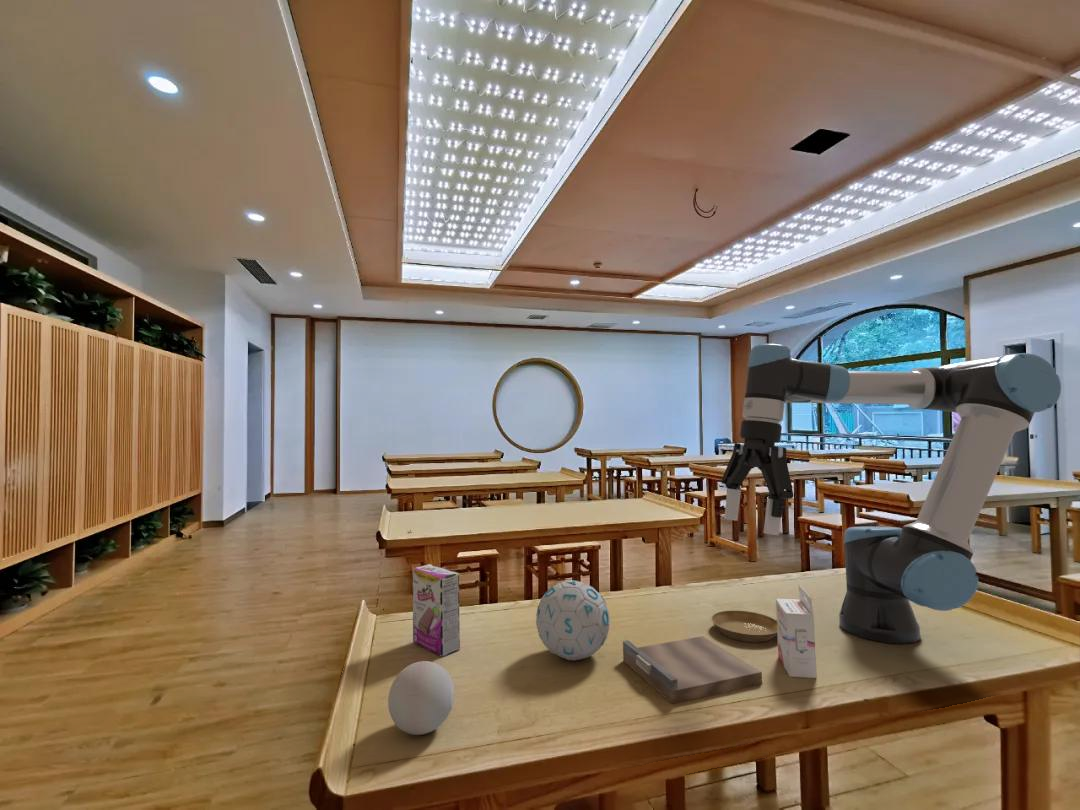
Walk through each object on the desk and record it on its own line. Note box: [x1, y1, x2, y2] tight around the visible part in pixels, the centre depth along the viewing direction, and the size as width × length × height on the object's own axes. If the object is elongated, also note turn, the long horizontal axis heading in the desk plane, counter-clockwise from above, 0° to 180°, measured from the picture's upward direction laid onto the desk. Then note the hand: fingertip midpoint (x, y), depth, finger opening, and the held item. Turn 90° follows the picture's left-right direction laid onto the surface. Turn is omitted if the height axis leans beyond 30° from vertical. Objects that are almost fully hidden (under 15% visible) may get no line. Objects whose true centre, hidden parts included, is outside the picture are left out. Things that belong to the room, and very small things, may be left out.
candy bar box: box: [411, 563, 461, 657], centre depth 110 cm, size 11×5×16 cm, turn 47°
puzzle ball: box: [535, 579, 610, 661], centre depth 104 cm, size 15×15×15 cm
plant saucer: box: [711, 609, 778, 643], centre depth 114 cm, size 15×15×3 cm
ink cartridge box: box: [775, 584, 818, 679], centre depth 97 cm, size 9×5×15 cm, turn 168°
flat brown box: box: [622, 635, 763, 704], centre depth 96 cm, size 20×17×4 cm
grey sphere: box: [387, 660, 455, 736], centre depth 79 cm, size 10×10×10 cm
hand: (749, 526), depth 101 cm, fingers open, 13 cm apart
